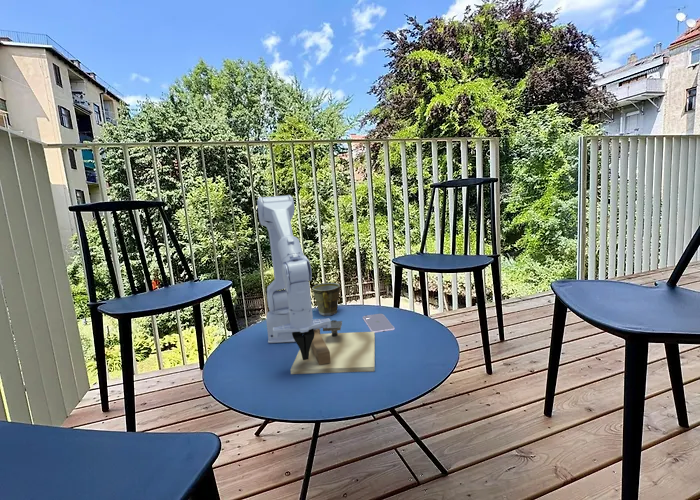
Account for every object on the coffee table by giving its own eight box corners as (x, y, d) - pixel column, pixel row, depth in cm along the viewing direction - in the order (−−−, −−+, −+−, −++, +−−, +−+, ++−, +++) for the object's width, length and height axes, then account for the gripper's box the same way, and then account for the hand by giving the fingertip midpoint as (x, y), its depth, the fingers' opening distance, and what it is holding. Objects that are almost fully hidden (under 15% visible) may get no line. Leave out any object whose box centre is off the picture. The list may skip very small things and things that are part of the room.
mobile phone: (372, 331, 115) (361, 315, 129) (372, 334, 115) (361, 318, 129) (395, 327, 116) (382, 312, 130) (395, 330, 116) (383, 315, 131)
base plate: (290, 374, 93) (290, 369, 93) (306, 338, 115) (306, 334, 114) (374, 371, 91) (374, 366, 91) (374, 335, 113) (374, 331, 113)
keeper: (307, 343, 107) (306, 328, 106) (311, 335, 113) (310, 320, 113) (341, 342, 107) (340, 326, 106) (343, 333, 113) (342, 318, 112)
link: (304, 338, 111) (303, 328, 110) (319, 335, 112) (318, 326, 111) (316, 365, 93) (315, 354, 93) (333, 361, 94) (332, 350, 94)
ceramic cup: (316, 308, 141) (314, 283, 140) (342, 307, 141) (340, 281, 139) (312, 321, 129) (309, 293, 127) (340, 319, 128) (338, 291, 126)
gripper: (272, 317, 87) (278, 370, 89) (332, 307, 91) (336, 359, 93) (269, 308, 94) (275, 358, 96) (325, 299, 97) (330, 348, 100)
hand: (305, 358), depth 95 cm, fingers closed
